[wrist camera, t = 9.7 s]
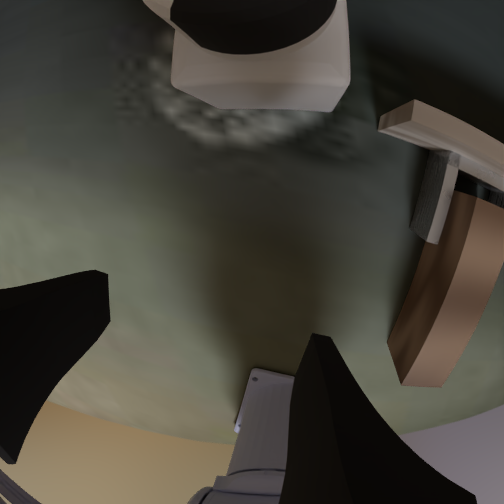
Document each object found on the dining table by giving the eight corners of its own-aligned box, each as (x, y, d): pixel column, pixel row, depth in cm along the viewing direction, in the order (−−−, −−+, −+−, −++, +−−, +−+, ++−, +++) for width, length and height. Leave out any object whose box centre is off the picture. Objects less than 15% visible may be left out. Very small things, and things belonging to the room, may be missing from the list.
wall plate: (528, 200, 14) (577, 219, 8) (377, 130, 15) (411, 120, 10) (530, 188, 14) (580, 204, 8) (380, 116, 15) (414, 99, 9)
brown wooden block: (421, 346, 19) (441, 387, 15) (386, 341, 20) (400, 385, 15) (475, 199, 15) (516, 215, 11) (438, 185, 16) (477, 197, 11)
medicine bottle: (331, 15, 13) (349, -115, 2) (333, 113, 16) (385, 39, 4) (222, 16, 14) (134, -91, 3) (217, 110, 17) (90, 60, 5)
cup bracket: (480, 252, 16) (501, 267, 13) (409, 228, 17) (426, 241, 14) (499, 183, 14) (524, 190, 11) (429, 150, 15) (450, 150, 12)
